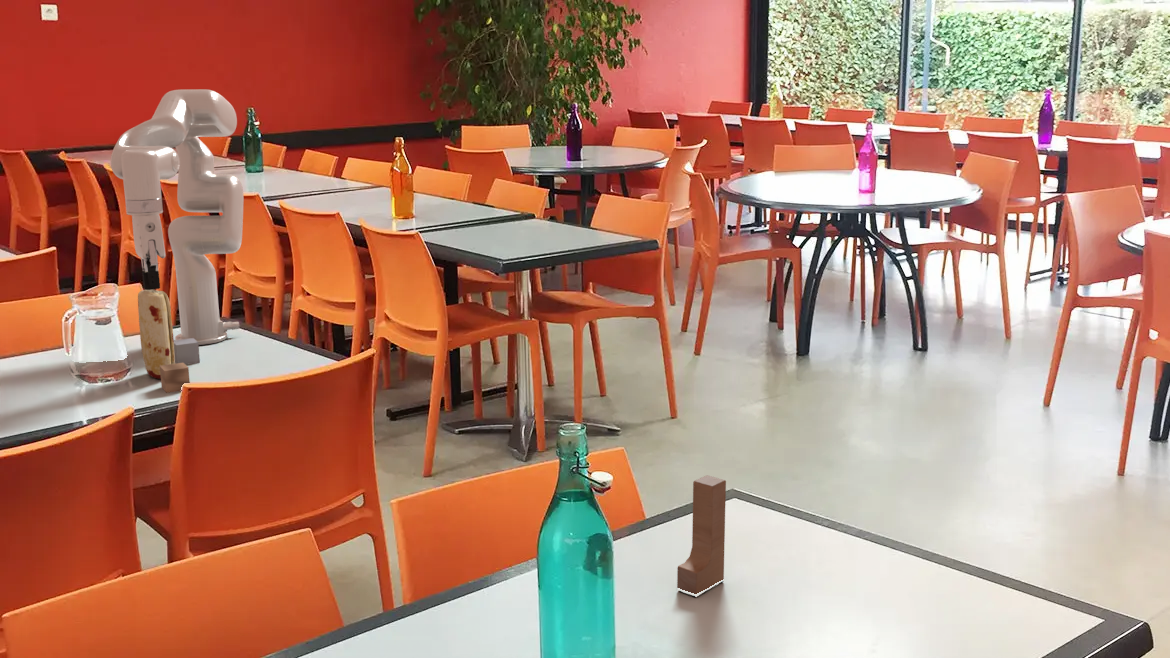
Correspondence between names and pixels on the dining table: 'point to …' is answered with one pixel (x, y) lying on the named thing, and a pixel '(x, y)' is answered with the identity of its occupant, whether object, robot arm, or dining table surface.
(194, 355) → the slate cube
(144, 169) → the robot arm
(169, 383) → the walnut cube
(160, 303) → the food model
